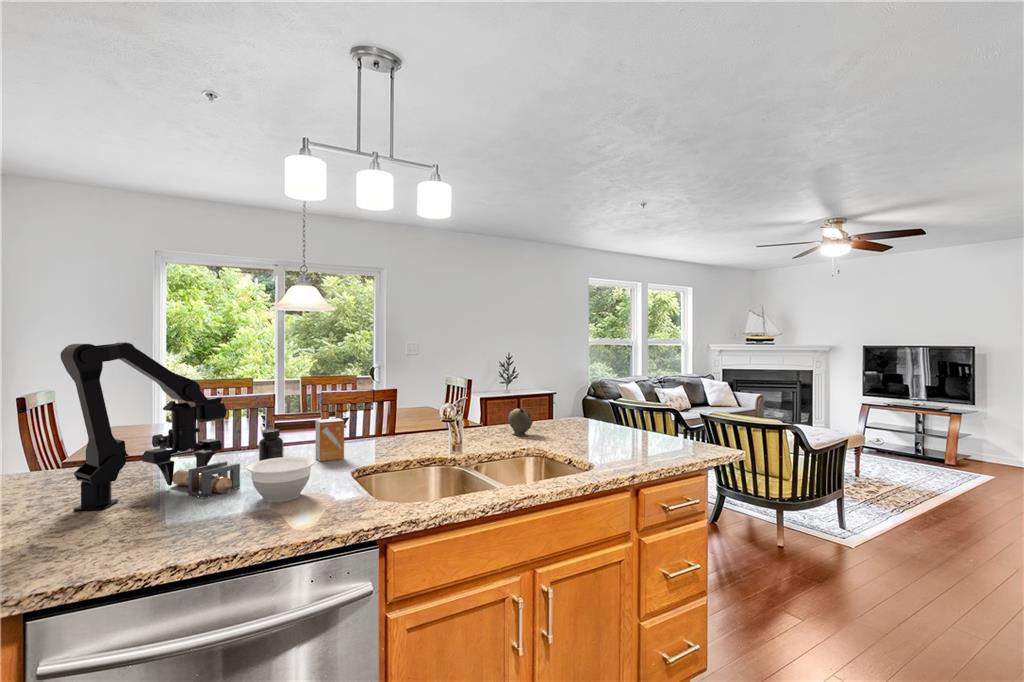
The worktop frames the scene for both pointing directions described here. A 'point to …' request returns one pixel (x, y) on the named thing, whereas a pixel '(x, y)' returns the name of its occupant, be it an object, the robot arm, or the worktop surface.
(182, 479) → the brown rounded cylinder
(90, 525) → the worktop surface
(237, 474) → the collar bracket
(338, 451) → the small box
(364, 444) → the worktop surface
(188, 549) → the worktop surface
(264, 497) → the bowl
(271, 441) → the supplement bottle
